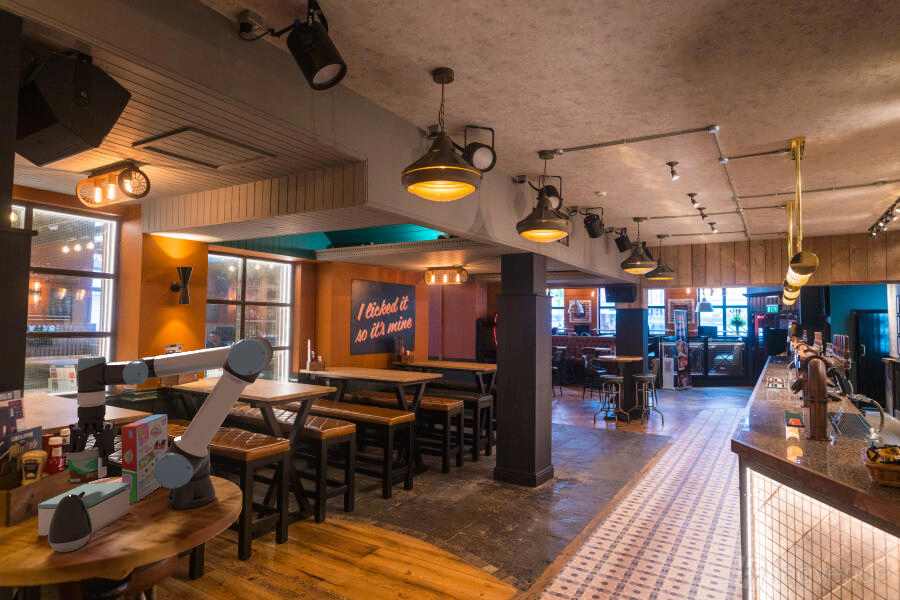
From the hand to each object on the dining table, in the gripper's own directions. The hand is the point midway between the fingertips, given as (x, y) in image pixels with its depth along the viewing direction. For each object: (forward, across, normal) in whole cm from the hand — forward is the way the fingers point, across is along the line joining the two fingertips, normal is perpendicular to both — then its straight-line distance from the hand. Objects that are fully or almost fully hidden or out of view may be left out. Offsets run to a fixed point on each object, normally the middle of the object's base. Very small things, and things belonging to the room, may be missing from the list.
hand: (91, 476), depth 164 cm
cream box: (+15, +2, 0) cm, 15 cm away
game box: (+15, +1, -28) cm, 32 cm away
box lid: (+6, +2, 0) cm, 7 cm away
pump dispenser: (+15, -7, +17) cm, 24 cm away
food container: (+1, 0, 0) cm, 1 cm away
